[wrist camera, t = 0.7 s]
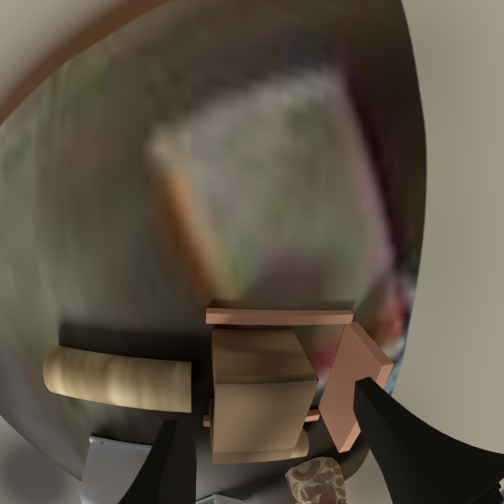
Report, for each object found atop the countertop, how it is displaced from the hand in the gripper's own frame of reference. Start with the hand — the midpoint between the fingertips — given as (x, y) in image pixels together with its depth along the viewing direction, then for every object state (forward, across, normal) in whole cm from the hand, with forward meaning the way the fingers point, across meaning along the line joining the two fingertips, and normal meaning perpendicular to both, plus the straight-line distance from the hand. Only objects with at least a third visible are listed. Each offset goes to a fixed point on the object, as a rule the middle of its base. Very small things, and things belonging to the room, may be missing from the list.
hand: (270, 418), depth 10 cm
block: (+10, +1, +7) cm, 12 cm away
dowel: (+10, +11, +4) cm, 16 cm away
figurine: (+9, -3, +29) cm, 30 cm away
